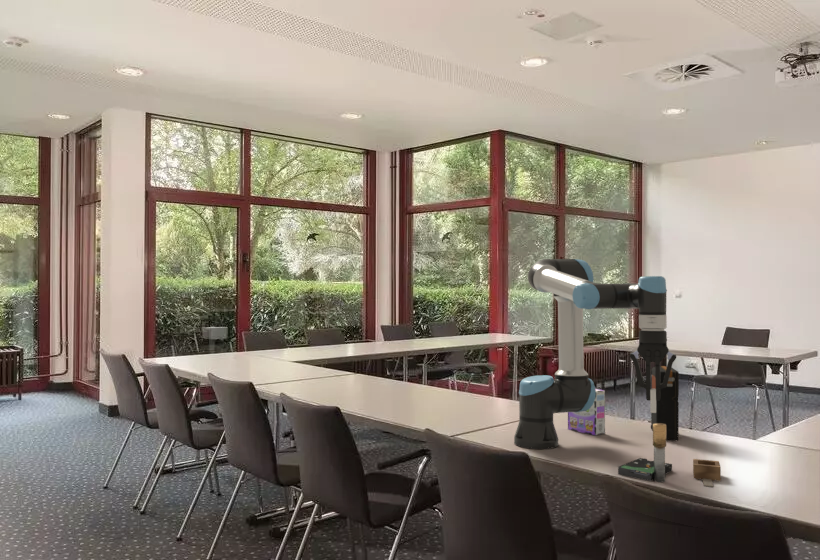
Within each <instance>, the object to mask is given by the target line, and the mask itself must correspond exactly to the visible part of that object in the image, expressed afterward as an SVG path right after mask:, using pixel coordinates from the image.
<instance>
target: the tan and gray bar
mask: <svg viewBox="0 0 820 560" xmlns="http://www.w3.org/2000/svg"><path fill="white" fill-rule="evenodd" d="M652 446H653V461H654V480H653V481H654V482H658V483H664V482H666V474H665V463H666V447H667V439H666V424H661V423H654V424H653V431H652Z"/></svg>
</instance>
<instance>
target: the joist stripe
mask: <svg viewBox="0 0 820 560" xmlns="http://www.w3.org/2000/svg"><path fill="white" fill-rule="evenodd" d="M702 483H703V487H709V488H714V484H713V480H712V479H704V478H703V479H702Z"/></svg>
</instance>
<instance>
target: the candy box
mask: <svg viewBox="0 0 820 560" xmlns="http://www.w3.org/2000/svg"><path fill="white" fill-rule="evenodd" d="M595 390H596V395H595V400H594V403H593V405H592V406H591V408H590V409H589V410H587V411H581V412H577V413H576V412H567V430H570V431H574V432H579V433H583V434H587V435H591V436H599V435H605V434H606V390H605V389H597V388H595Z"/></svg>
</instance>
